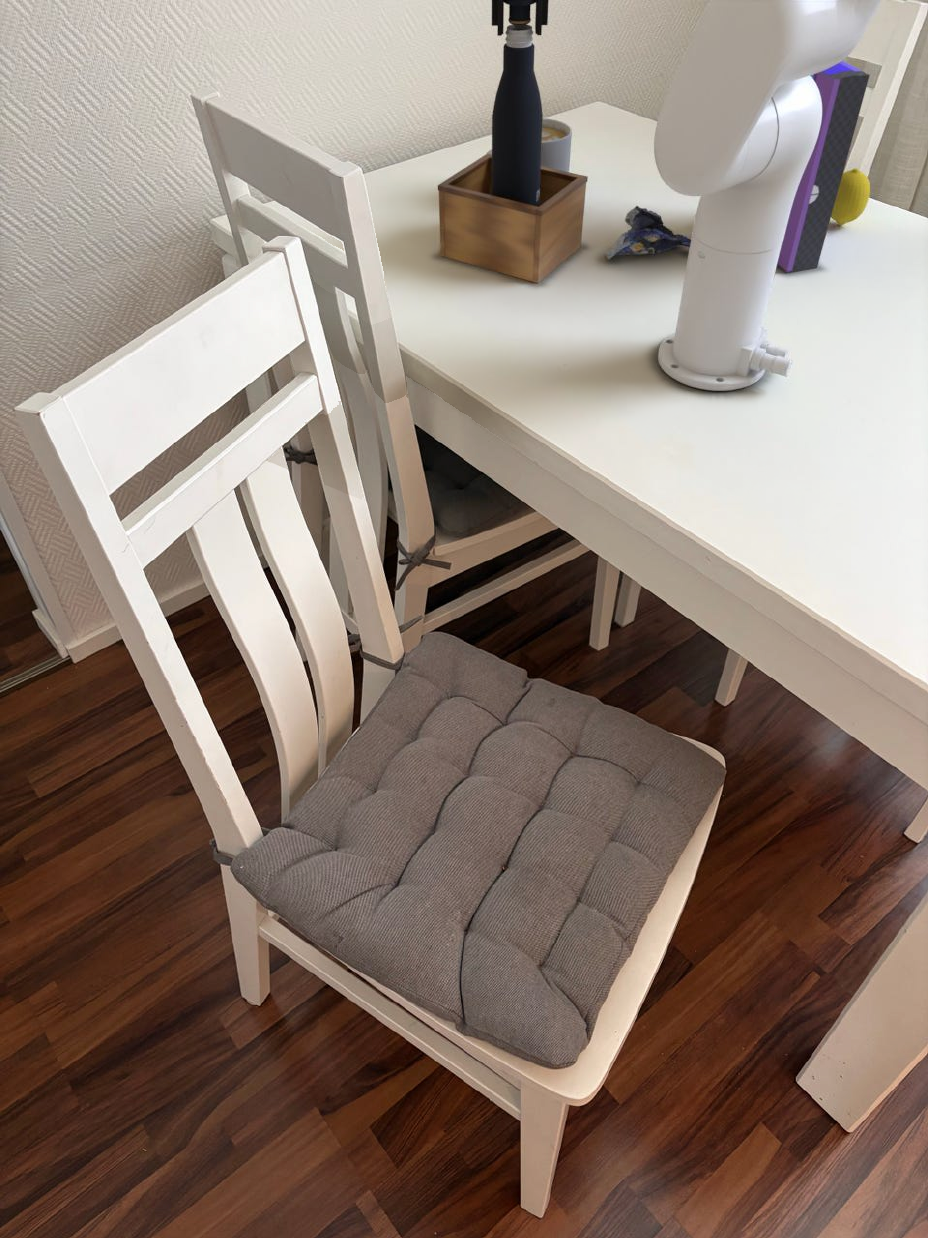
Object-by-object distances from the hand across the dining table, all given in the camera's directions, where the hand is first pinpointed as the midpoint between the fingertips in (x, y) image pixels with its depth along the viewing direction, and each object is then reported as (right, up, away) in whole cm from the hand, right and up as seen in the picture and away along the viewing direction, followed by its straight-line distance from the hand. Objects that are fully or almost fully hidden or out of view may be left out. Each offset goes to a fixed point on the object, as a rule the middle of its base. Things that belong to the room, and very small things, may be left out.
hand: (519, 30), depth 113 cm
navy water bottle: (0, -17, +17) cm, 24 cm away
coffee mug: (+3, -6, +32) cm, 33 cm away
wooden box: (0, -19, +20) cm, 27 cm away
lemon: (+48, -13, +25) cm, 56 cm away
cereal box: (+37, -17, +21) cm, 46 cm away
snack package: (+19, -19, +20) cm, 33 cm away
